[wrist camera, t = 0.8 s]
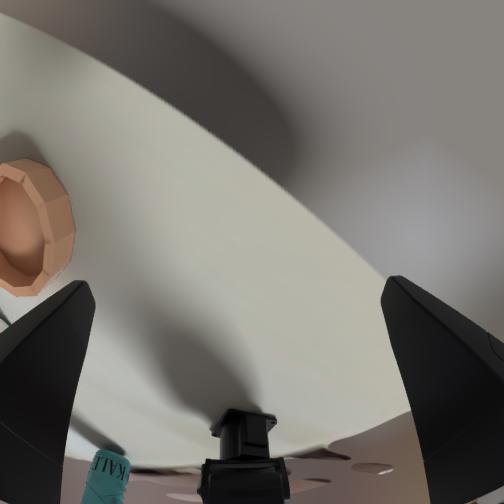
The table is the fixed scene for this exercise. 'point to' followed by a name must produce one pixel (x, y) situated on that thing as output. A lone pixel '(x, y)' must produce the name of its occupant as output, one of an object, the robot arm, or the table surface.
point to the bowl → (33, 227)
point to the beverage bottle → (106, 479)
